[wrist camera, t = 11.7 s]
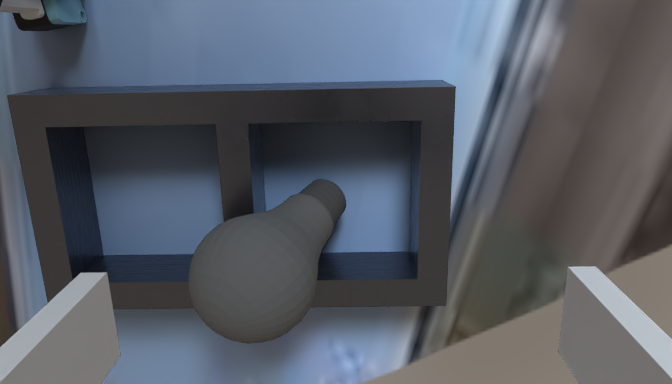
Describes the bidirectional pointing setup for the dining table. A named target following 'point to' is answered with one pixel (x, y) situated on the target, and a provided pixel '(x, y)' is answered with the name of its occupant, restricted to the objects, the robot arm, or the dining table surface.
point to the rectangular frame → (233, 181)
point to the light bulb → (264, 265)
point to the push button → (44, 13)
